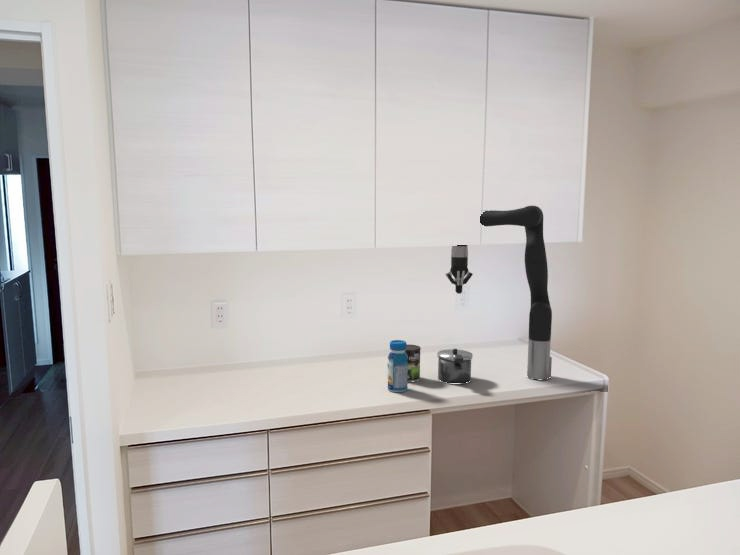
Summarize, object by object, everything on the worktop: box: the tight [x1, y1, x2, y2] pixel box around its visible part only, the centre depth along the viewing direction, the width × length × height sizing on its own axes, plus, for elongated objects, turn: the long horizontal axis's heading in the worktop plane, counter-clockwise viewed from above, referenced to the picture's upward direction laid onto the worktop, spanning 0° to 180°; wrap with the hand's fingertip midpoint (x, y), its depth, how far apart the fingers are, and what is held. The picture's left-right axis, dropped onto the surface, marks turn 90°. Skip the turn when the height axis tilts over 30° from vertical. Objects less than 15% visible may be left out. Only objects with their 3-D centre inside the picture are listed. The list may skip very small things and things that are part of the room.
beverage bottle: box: [387, 339, 409, 393], centre depth 230 cm, size 8×8×20 cm
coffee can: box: [405, 343, 421, 383], centre depth 245 cm, size 10×10×14 cm
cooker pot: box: [437, 356, 472, 383], centre depth 243 cm, size 14×20×10 cm
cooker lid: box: [437, 348, 474, 363], centre depth 241 cm, size 15×21×3 cm
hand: (458, 293), depth 261 cm, fingers closed
